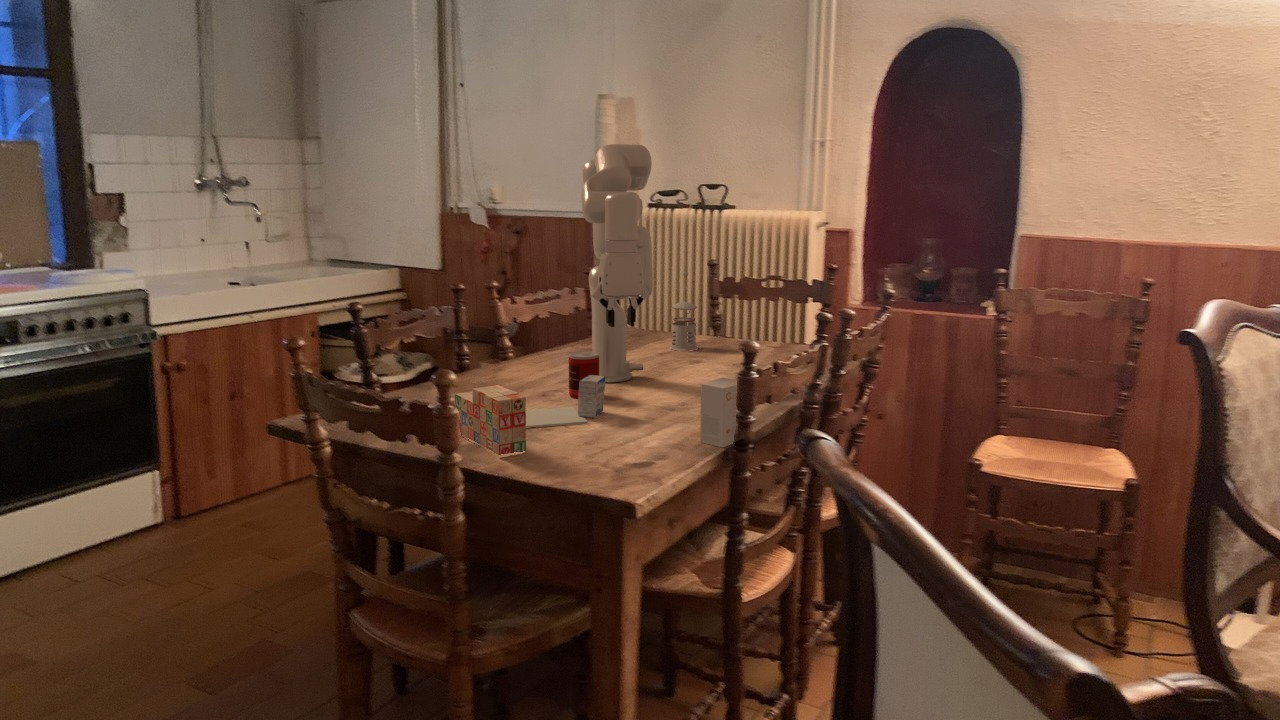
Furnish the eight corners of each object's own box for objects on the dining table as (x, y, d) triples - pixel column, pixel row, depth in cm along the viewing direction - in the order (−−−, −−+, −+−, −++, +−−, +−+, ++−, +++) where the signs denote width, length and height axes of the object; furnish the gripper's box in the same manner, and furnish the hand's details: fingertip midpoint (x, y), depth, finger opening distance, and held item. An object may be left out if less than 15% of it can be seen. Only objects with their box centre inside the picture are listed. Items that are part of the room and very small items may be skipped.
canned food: (603, 393, 245) (603, 352, 243) (592, 400, 238) (592, 357, 236) (576, 391, 248) (576, 350, 245) (564, 398, 240) (563, 355, 238)
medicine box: (595, 418, 220) (598, 382, 218) (576, 416, 220) (579, 379, 219) (603, 411, 227) (606, 376, 226) (585, 409, 228) (588, 374, 227)
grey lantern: (665, 350, 304) (666, 272, 299) (674, 344, 314) (675, 269, 309) (694, 352, 301) (696, 273, 296) (703, 345, 312) (704, 270, 307)
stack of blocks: (455, 434, 207) (454, 379, 205) (481, 430, 211) (480, 376, 208) (499, 459, 190) (498, 399, 188) (527, 454, 194) (526, 395, 191)
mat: (572, 408, 230) (572, 406, 230) (587, 423, 217) (587, 421, 217) (499, 414, 224) (499, 412, 224) (509, 429, 211) (509, 427, 211)
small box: (720, 434, 209) (722, 377, 206) (744, 440, 205) (746, 381, 202) (699, 442, 202) (700, 383, 200) (723, 448, 198) (724, 387, 196)
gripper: (650, 245, 224) (649, 321, 228) (581, 247, 219) (582, 324, 223) (660, 248, 217) (659, 326, 221) (590, 249, 212) (590, 330, 216)
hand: (620, 324), depth 222 cm, fingers open, 4 cm apart
